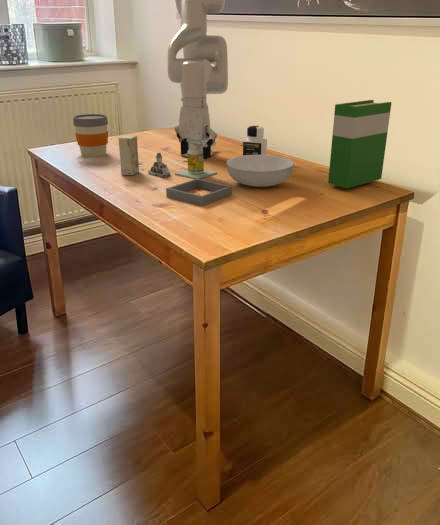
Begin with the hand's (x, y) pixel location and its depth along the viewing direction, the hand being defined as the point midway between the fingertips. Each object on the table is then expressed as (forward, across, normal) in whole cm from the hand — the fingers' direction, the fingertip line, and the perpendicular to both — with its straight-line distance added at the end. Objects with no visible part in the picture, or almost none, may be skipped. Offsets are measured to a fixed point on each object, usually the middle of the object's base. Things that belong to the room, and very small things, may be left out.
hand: (195, 156), depth 170 cm
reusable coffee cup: (+7, -47, -5) cm, 47 cm away
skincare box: (+6, -18, -13) cm, 23 cm away
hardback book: (+6, +46, +25) cm, 52 cm away
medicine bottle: (+6, +3, +30) cm, 31 cm away
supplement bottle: (+6, 0, 0) cm, 6 cm away
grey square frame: (+6, +17, -18) cm, 26 cm away
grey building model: (+6, -8, -6) cm, 12 cm away
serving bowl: (+6, +23, +4) cm, 24 cm away
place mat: (+6, 0, 0) cm, 6 cm away
